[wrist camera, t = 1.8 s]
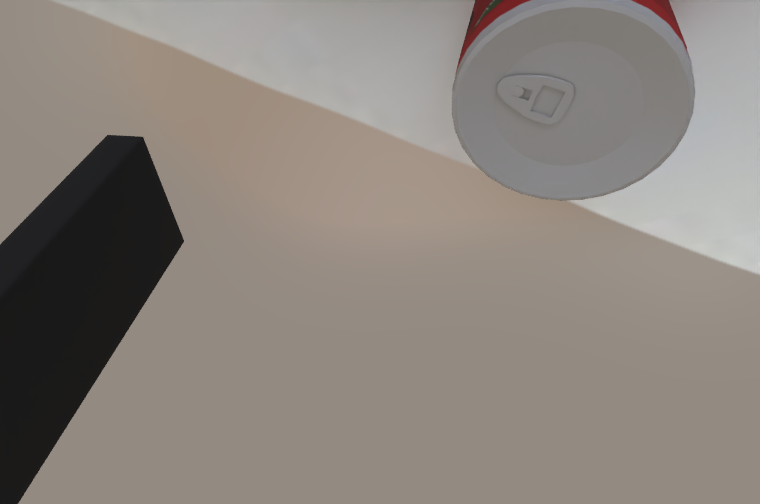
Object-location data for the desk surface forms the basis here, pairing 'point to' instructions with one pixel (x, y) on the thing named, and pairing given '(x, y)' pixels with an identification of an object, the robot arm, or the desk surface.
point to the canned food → (571, 93)
